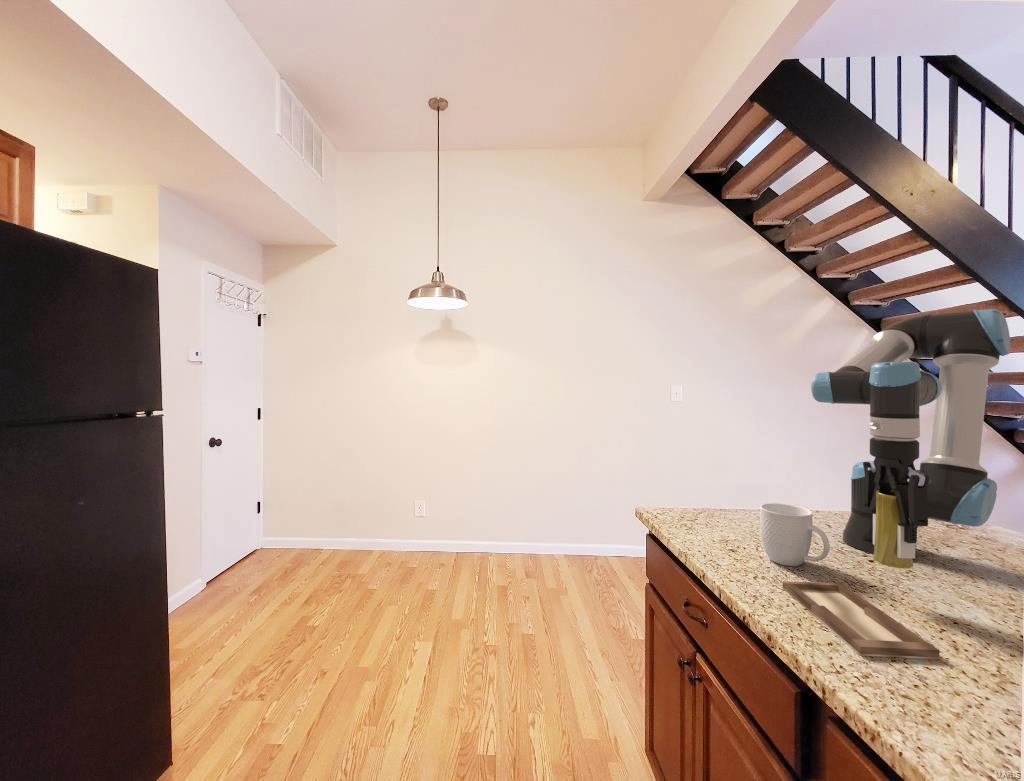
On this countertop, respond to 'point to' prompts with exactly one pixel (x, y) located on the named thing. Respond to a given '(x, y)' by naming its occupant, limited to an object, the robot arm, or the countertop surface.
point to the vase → (888, 532)
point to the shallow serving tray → (859, 621)
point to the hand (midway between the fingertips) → (893, 550)
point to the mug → (789, 534)
